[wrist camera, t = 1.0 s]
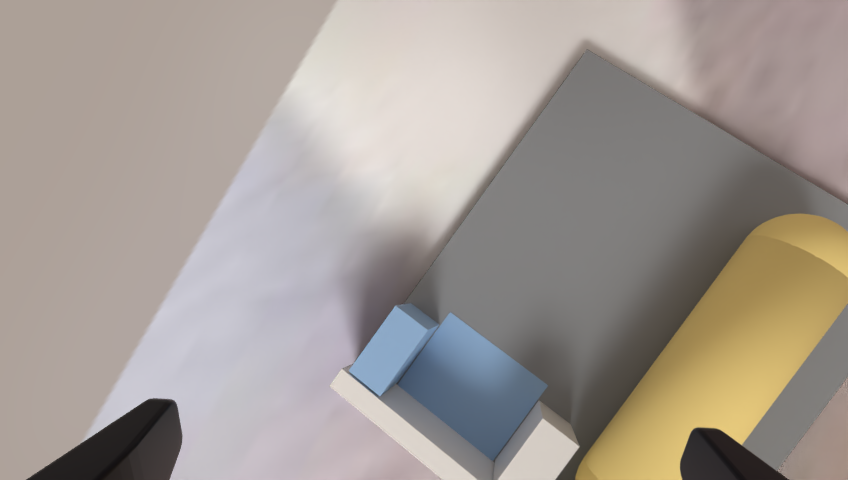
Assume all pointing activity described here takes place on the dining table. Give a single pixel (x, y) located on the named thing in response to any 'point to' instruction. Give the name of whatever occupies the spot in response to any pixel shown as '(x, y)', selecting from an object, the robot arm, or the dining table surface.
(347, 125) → the dining table surface
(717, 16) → the dining table surface
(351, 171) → the dining table surface
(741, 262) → the yellow pill shape
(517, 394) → the capsule display stand
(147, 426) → the robot arm
